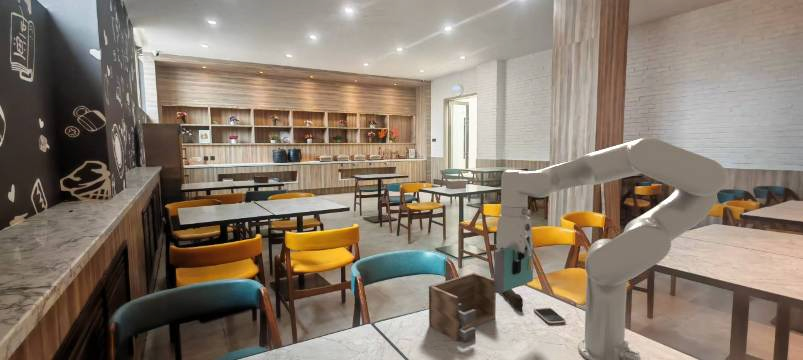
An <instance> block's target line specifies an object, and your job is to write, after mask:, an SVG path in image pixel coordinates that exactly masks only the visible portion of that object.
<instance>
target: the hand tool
mask: <svg viewBox="0 0 803 360" xmlns="http://www.w3.org/2000/svg"><path fill="white" fill-rule="evenodd" d="M502 294H503V295H504V296H505V297H506V298H507V300H509V302H510V303H511V305H512V307H513V308H515V310H518V311H519V312H522V311H523V306H524V303H523V301H524V300H523V299H524V298H522V296H521V294H518V293H516V292H515V291H514V290H513V289H510V290H507V291H505V292H504V293H502Z"/></svg>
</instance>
